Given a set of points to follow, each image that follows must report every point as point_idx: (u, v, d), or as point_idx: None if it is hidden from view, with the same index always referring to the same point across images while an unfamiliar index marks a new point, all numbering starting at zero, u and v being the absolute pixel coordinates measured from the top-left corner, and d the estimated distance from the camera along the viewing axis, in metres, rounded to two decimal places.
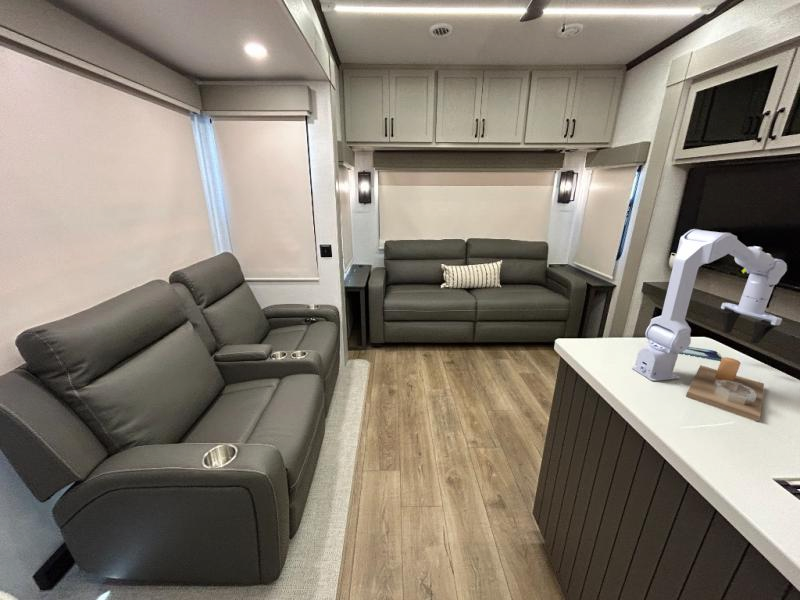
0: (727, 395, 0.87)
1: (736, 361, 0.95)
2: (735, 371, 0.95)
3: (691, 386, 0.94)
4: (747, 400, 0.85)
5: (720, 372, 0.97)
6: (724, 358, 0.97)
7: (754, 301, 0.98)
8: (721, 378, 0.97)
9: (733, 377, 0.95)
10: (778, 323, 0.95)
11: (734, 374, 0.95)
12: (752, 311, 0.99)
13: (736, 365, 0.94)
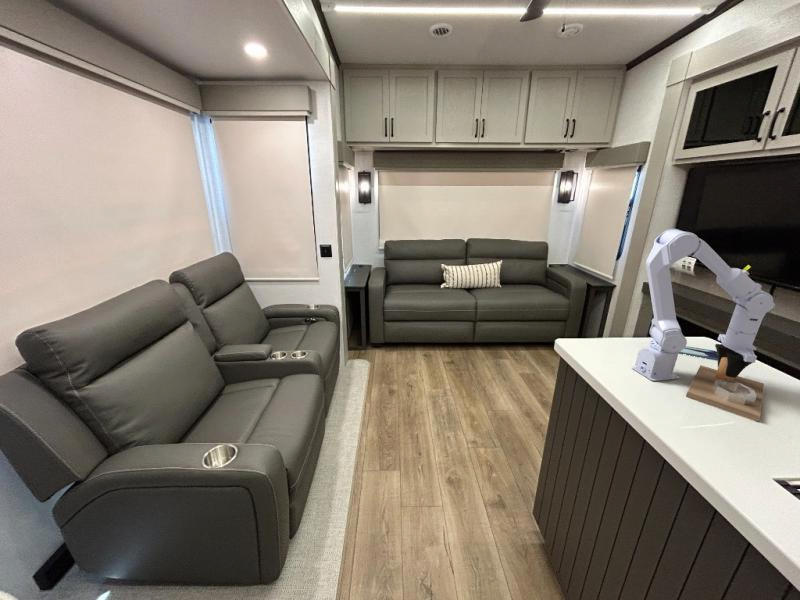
0: (727, 395, 0.87)
1: None
2: None
3: (691, 386, 0.94)
4: (747, 400, 0.85)
5: (720, 372, 0.97)
6: (724, 358, 0.97)
7: (733, 334, 0.92)
8: (721, 378, 0.97)
9: None
10: (751, 360, 0.88)
11: None
12: (731, 344, 0.93)
13: None
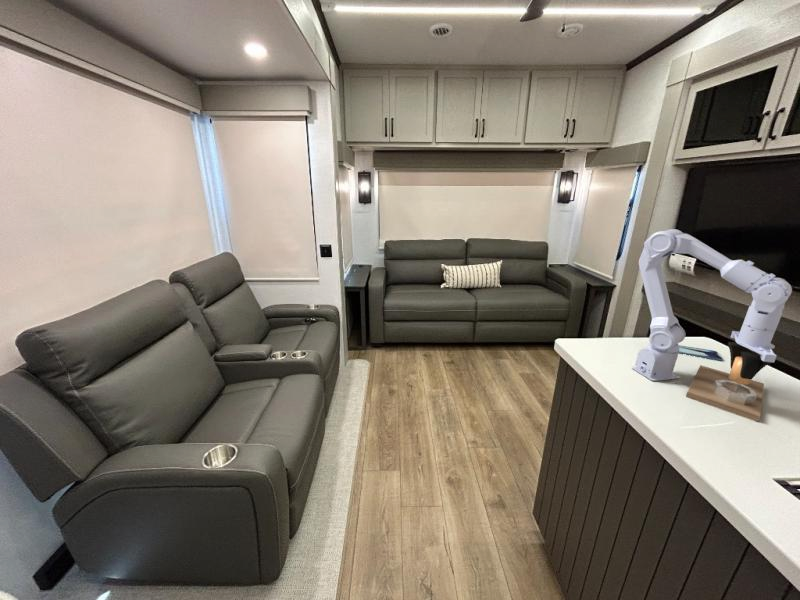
0: (727, 395, 0.87)
1: None
2: None
3: (691, 386, 0.94)
4: (747, 400, 0.85)
5: (734, 373, 0.87)
6: (738, 357, 0.87)
7: (749, 330, 0.83)
8: (735, 380, 0.87)
9: (749, 379, 0.86)
10: (770, 360, 0.78)
11: None
12: (747, 342, 0.83)
13: None
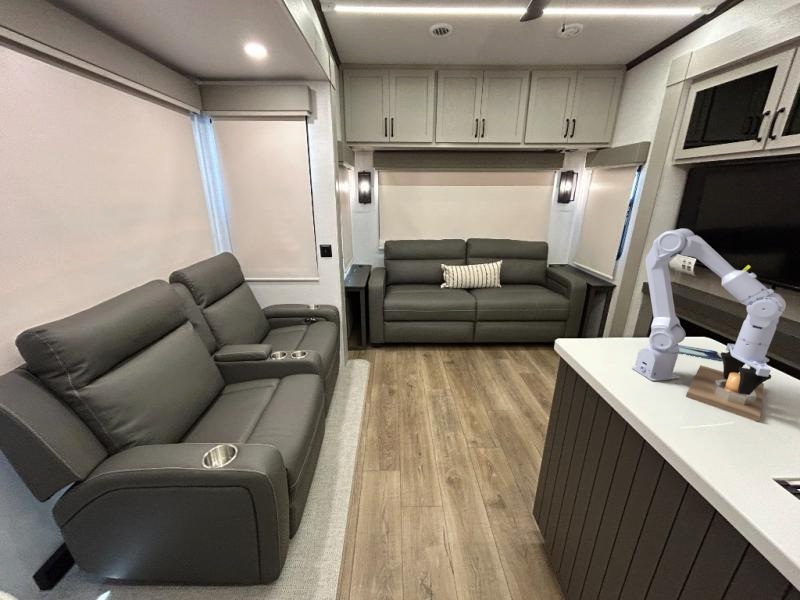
0: (727, 395, 0.87)
1: None
2: None
3: (691, 386, 0.94)
4: (747, 400, 0.85)
5: (728, 389, 0.89)
6: (732, 374, 0.89)
7: (744, 344, 0.84)
8: None
9: None
10: (764, 374, 0.80)
11: None
12: (742, 355, 0.84)
13: None
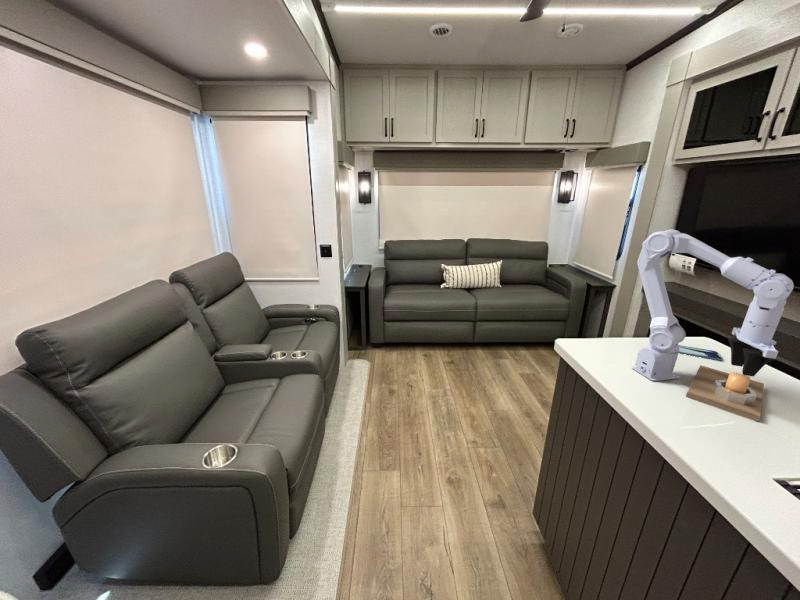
0: (727, 395, 0.87)
1: (745, 377, 0.87)
2: (744, 389, 0.86)
3: (691, 386, 0.94)
4: (747, 400, 0.85)
5: (728, 389, 0.89)
6: (732, 374, 0.89)
7: (751, 326, 0.82)
8: None
9: None
10: (772, 356, 0.78)
11: (743, 391, 0.87)
12: (748, 338, 0.83)
13: (746, 381, 0.86)
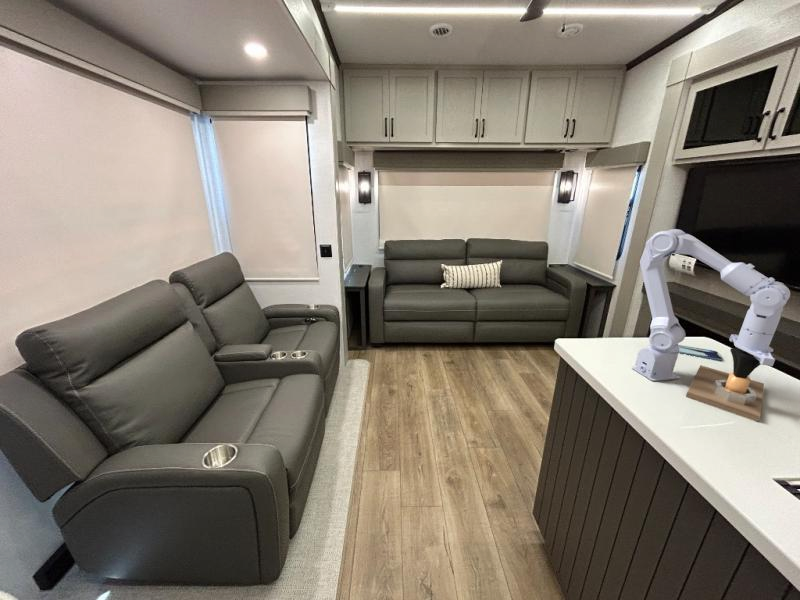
0: (727, 395, 0.87)
1: None
2: (744, 389, 0.86)
3: (691, 386, 0.94)
4: (747, 400, 0.85)
5: (728, 389, 0.89)
6: (732, 374, 0.89)
7: (748, 334, 0.83)
8: None
9: None
10: (768, 363, 0.79)
11: (743, 391, 0.87)
12: (745, 345, 0.84)
13: (746, 382, 0.86)
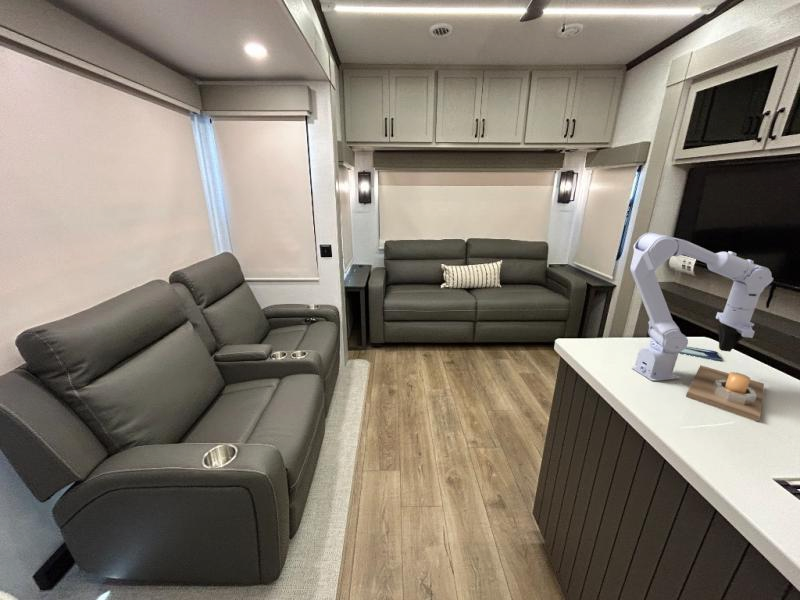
0: (727, 395, 0.87)
1: (745, 377, 0.87)
2: (744, 388, 0.87)
3: (691, 386, 0.94)
4: (747, 400, 0.85)
5: (728, 388, 0.89)
6: (732, 373, 0.89)
7: (731, 310, 0.92)
8: None
9: None
10: (749, 335, 0.88)
11: (743, 391, 0.87)
12: (729, 321, 0.93)
13: (746, 381, 0.86)
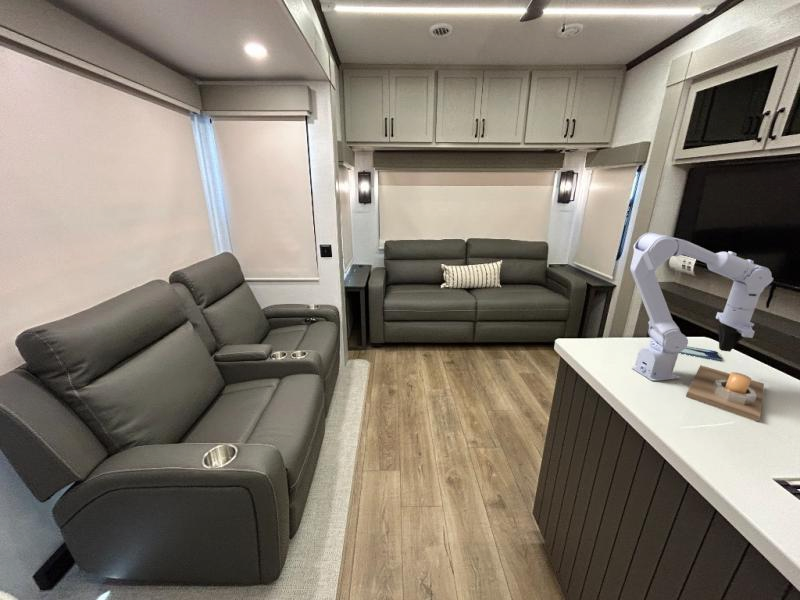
0: (727, 395, 0.87)
1: (746, 377, 0.87)
2: (745, 388, 0.86)
3: (691, 386, 0.94)
4: (747, 400, 0.85)
5: (728, 388, 0.89)
6: (733, 373, 0.89)
7: (731, 310, 0.92)
8: None
9: None
10: (749, 335, 0.88)
11: (744, 391, 0.87)
12: (729, 321, 0.93)
13: (747, 381, 0.86)
